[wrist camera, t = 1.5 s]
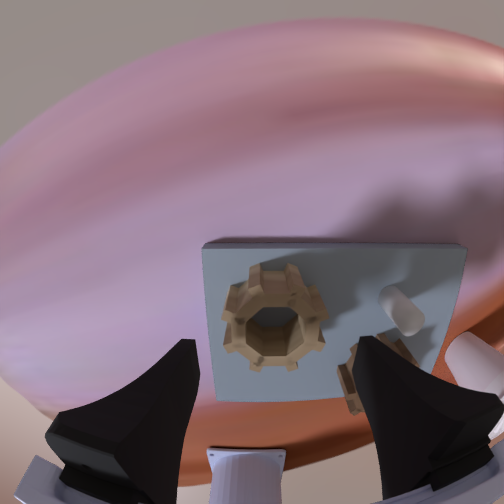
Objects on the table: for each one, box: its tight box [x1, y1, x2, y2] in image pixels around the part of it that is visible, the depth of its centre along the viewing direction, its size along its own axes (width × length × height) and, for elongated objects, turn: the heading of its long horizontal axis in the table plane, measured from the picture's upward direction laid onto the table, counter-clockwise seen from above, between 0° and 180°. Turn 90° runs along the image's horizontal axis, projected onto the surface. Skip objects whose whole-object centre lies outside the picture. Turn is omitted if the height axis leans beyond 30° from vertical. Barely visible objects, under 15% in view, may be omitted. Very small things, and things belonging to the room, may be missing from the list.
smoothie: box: [445, 332, 504, 440], centre depth 12 cm, size 6×6×14 cm
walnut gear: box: [336, 333, 420, 416], centre depth 16 cm, size 5×5×3 cm
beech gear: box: [221, 263, 329, 373], centre depth 15 cm, size 5×5×3 cm
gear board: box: [202, 243, 468, 402], centre depth 16 cm, size 12×18×5 cm, turn 91°
